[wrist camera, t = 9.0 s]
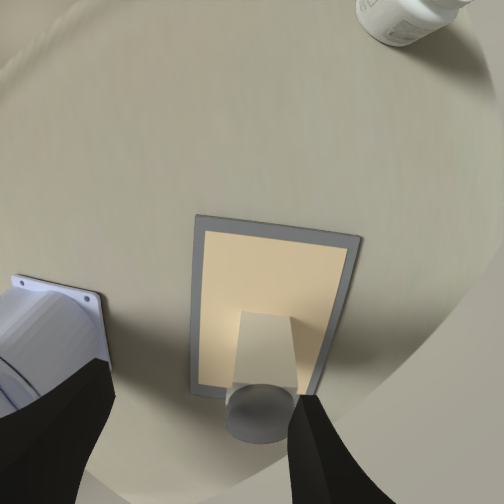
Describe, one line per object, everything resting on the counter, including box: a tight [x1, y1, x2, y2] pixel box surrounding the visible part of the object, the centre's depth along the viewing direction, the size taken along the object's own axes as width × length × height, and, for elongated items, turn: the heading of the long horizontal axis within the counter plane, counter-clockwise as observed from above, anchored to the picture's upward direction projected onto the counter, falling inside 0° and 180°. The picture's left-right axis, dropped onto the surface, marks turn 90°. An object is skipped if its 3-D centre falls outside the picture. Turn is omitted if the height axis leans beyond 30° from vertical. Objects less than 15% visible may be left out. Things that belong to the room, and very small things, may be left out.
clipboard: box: [190, 214, 360, 406], centre depth 20 cm, size 10×15×1 cm, turn 173°
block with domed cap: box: [226, 311, 298, 444], centre depth 17 cm, size 3×3×8 cm
